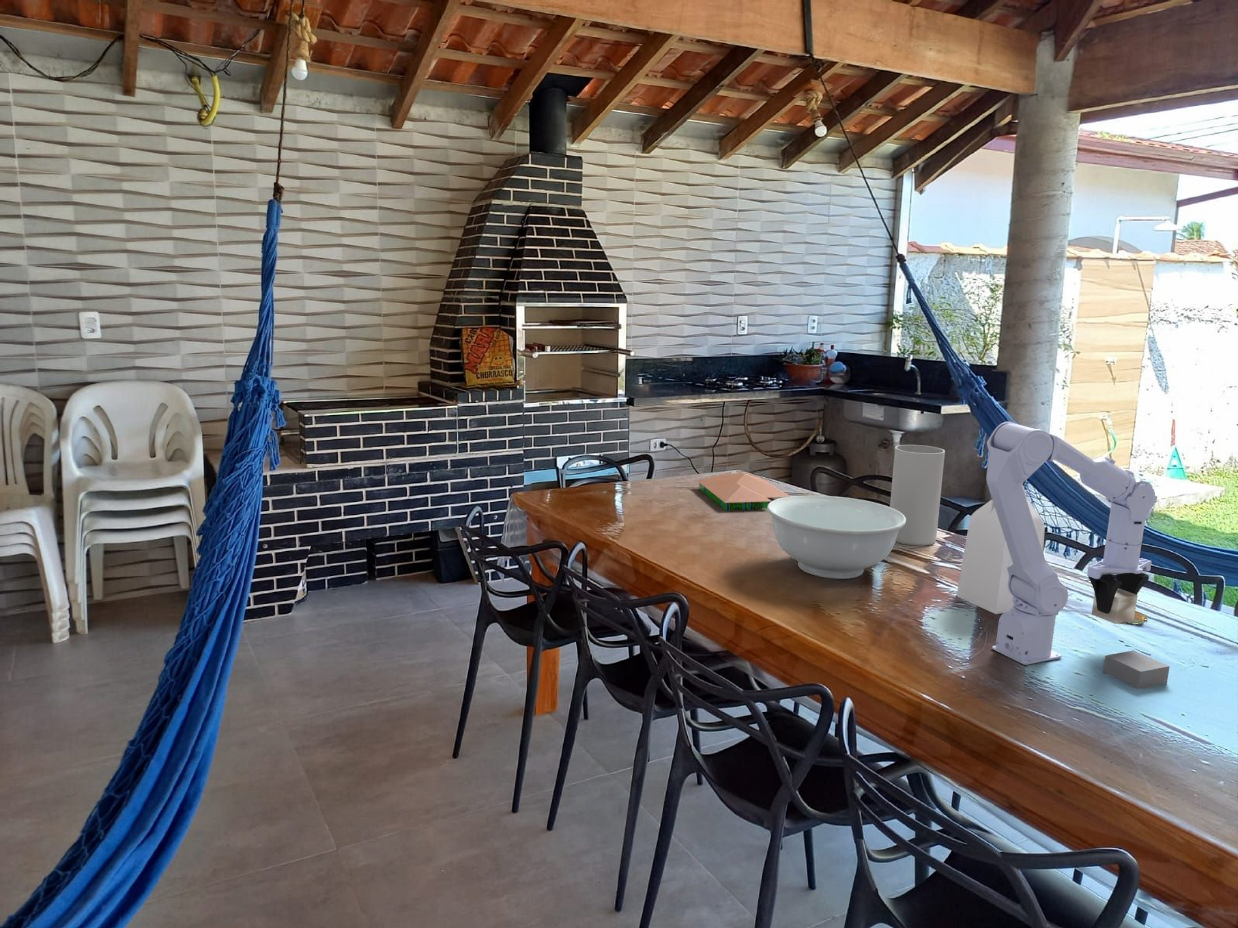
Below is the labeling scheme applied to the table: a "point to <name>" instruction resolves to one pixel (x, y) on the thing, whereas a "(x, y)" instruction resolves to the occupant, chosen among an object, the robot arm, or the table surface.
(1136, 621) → the shard
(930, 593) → the table surface
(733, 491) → the house
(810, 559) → the bowl
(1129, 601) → the cream cube
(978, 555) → the milk
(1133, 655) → the gray base block
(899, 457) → the cylinder vase
